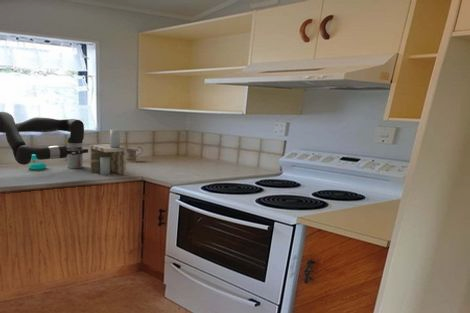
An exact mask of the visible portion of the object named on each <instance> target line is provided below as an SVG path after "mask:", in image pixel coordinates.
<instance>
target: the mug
mask: <svg viewBox="0 0 470 313" xmlns="http://www.w3.org/2000/svg"><path fill="white" fill-rule="evenodd" d="M138 149H141V153H138V154H137V152H138ZM143 152H144V149H143V148H142V147H141V146H137V148H126V164H127V163H131V164H133V163H134V162H135V163H137V162H138V161H137V157H138V156H140V155H141V154H143Z"/></svg>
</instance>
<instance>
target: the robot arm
mask: <svg viewBox="0 0 470 313" xmlns="http://www.w3.org/2000/svg"><path fill="white" fill-rule="evenodd" d="M57 131H58V132H59V131H62V132H67V133H68V132H69V133H70V136H69V137H68V138H67V146H66V145H65V144H61V145H51V146H40V147H39V146H34V145H28V144H26V142H25V140H24V139H23V138H22V136H21V134H20V133H25V132H26V133H27V132H28V133H52V132H57ZM0 133H2V134H5V137H6V141H7V144H8V146H9V147H10V148H11V150H12V154H13V157H14V159H15V162H17V163H18V164H20V165H23V166H24V165H25V166H26V165H29V164H31V161H32V159H31V158H32V154H35V155H36V158H37V159H38V160H37V161H41V160H43V161H45V160H57V159H59V160H60V159H66V158H67V168H68V169H81V168H83V167H84V166H83V164H84V159H83V158H84V157H83V155H84V154H87V153H89V149H88V148H86V149H85V148H84V149H83V147H84V146H83V141H84V139H85V138H84V137H85V125H84V122H83V121H82V120H81V119H76V118H70V119H69V118H68V119H56V118H52V117H51V118H50V117H42V116H41V117H40V116H39V117H32V118H29V119H27V120H24V121H23V122H18V123H16V121H15V119H14V117H13V115H12V113H11V114H10V113H9V112H6V111H0Z"/></svg>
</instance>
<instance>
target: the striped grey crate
mask: <svg viewBox="0 0 470 313" xmlns="http://www.w3.org/2000/svg"><path fill="white" fill-rule="evenodd" d="M89 146H90V147H89V148H90V173H100V157H110V172H112V173H116V174H119V175H121V176H126V175H127V172H126V171H127V170H126V169H127V162H126V149H127V147H126V146H125V147H124V146H121V145H120V148H111V147H110V143H108V144H90V145H89Z"/></svg>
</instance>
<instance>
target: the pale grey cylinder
mask: <svg viewBox="0 0 470 313" xmlns="http://www.w3.org/2000/svg"><path fill="white" fill-rule="evenodd" d="M109 130H110V131H109V144H110V147H111V148H120V146H121V130H120V129H109Z"/></svg>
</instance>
